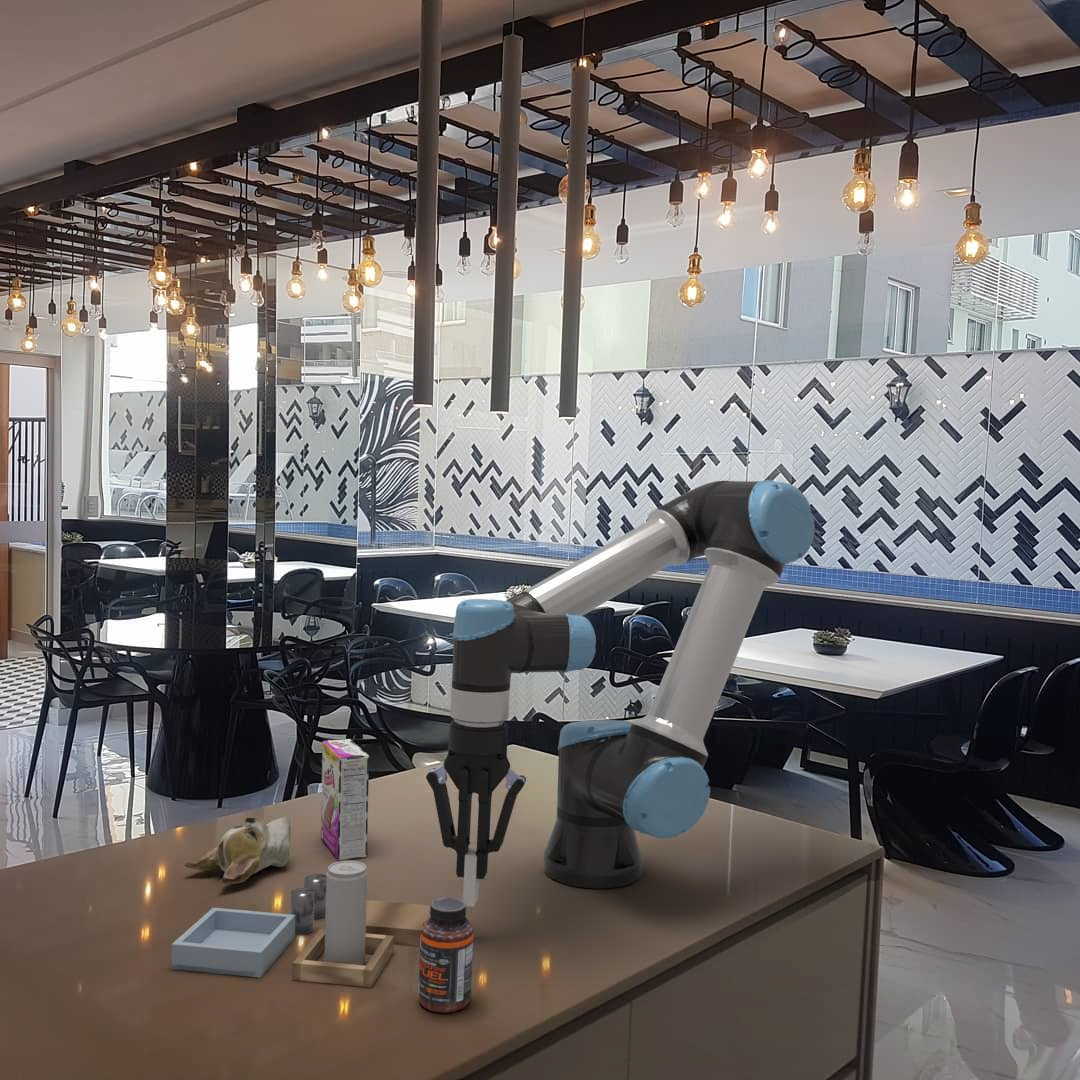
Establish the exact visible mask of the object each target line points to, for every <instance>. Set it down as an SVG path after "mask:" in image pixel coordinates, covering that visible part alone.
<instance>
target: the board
mask: <svg viewBox="0 0 1080 1080" xmlns="http://www.w3.org/2000/svg"><path fill="white" fill-rule="evenodd" d="M430 907H431V904H418V903H407V902H397V901H396V902H395V901H394V902H393V901H382V900H373V899H372V900H369V899H367V902H366V933H367V934H378V935H389V936H394V945H402V946H413V947H420V940H421V927H422V924H423V923H424V921H426V920H427V919H428V918H430V917H431V916H430Z"/></svg>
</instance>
